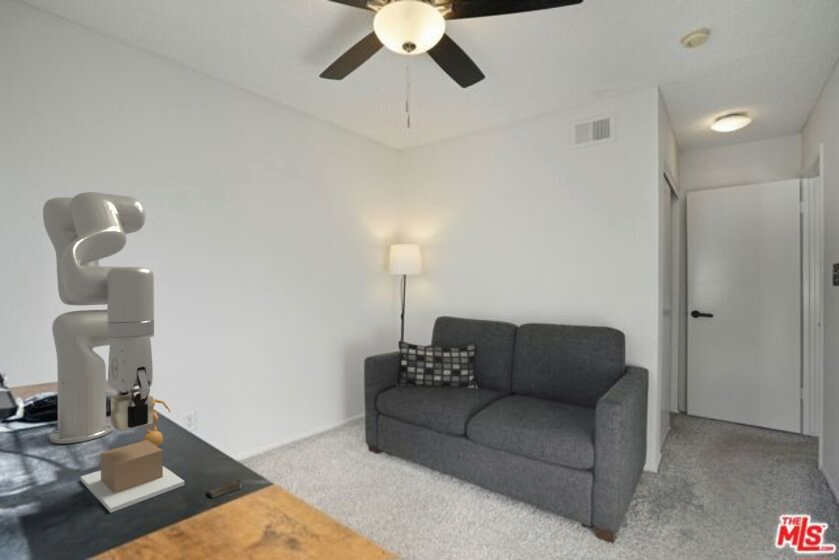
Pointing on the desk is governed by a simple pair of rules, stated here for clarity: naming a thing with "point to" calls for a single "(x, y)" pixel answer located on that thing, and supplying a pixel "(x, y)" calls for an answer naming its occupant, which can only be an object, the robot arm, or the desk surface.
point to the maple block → (126, 411)
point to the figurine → (155, 435)
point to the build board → (132, 492)
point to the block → (224, 489)
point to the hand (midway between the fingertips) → (132, 421)
